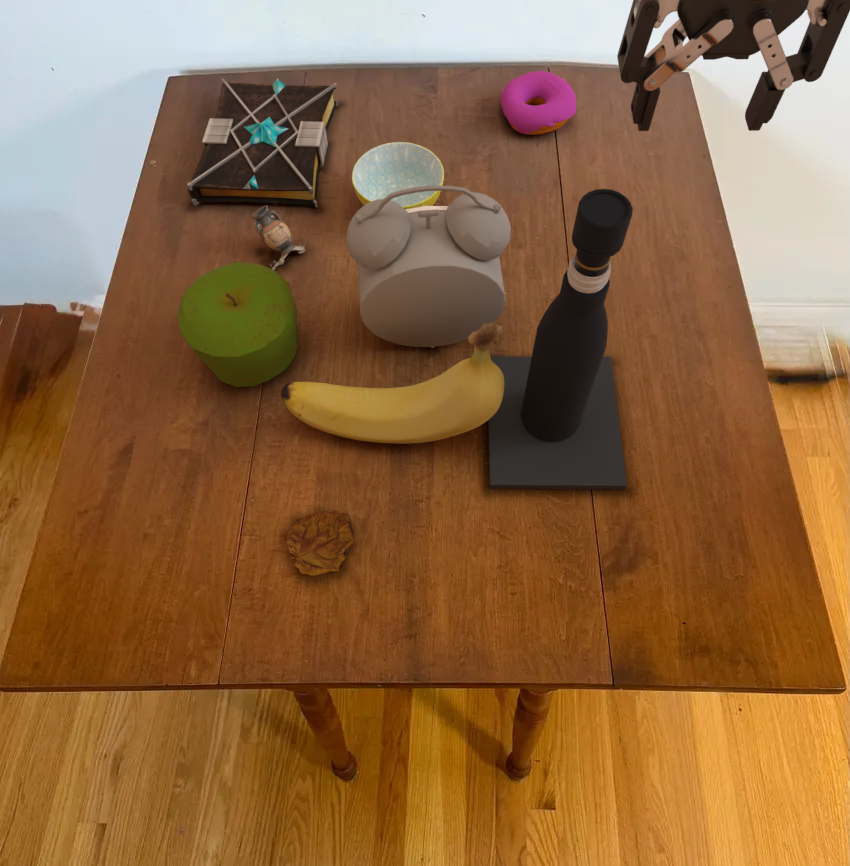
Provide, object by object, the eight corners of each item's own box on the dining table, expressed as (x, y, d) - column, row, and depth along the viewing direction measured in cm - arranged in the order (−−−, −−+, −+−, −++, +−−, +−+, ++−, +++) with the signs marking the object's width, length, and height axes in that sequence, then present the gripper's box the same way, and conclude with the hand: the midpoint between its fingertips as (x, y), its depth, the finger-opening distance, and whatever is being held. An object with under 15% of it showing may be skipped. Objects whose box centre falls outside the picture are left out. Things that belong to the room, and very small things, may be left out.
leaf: (286, 519, 74) (281, 515, 72) (351, 505, 73) (347, 500, 72) (294, 581, 71) (289, 578, 70) (361, 566, 71) (357, 563, 69)
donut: (494, 97, 104) (496, 68, 100) (563, 89, 105) (567, 60, 101) (508, 145, 99) (511, 117, 95) (580, 137, 100) (586, 108, 96)
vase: (249, 246, 91) (237, 211, 86) (286, 227, 93) (276, 191, 88) (271, 272, 89) (260, 238, 84) (308, 252, 91) (299, 217, 86)
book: (227, 100, 105) (217, 68, 101) (340, 103, 104) (335, 71, 100) (192, 207, 95) (180, 177, 91) (318, 211, 94) (312, 182, 90)
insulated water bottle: (531, 448, 76) (579, 249, 49) (512, 398, 79) (548, 185, 52) (589, 434, 76) (666, 230, 50) (568, 385, 79) (630, 167, 53)
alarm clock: (496, 296, 87) (510, 145, 67) (505, 355, 83) (524, 212, 63) (360, 306, 86) (336, 159, 67) (363, 366, 82) (338, 227, 63)
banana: (286, 444, 78) (240, 334, 60) (297, 399, 80) (256, 280, 63) (495, 463, 76) (511, 355, 58) (498, 415, 79) (514, 299, 61)
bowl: (393, 257, 90) (390, 221, 85) (339, 207, 94) (333, 169, 89) (461, 214, 93) (463, 176, 88) (407, 167, 98) (404, 129, 92)
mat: (609, 361, 82) (610, 356, 81) (624, 489, 74) (627, 485, 73) (486, 361, 82) (486, 356, 81) (489, 488, 75) (490, 484, 74)
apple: (272, 417, 79) (248, 359, 69) (180, 379, 82) (144, 318, 72) (326, 333, 85) (311, 268, 75) (238, 300, 87) (212, 233, 77)
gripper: (668, -76, 40) (610, 158, 55) (925, -80, 40) (799, 157, 54) (651, -142, 44) (600, 94, 58) (887, -146, 44) (778, 92, 58)
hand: (696, 124), depth 56 cm, fingers open, 8 cm apart
